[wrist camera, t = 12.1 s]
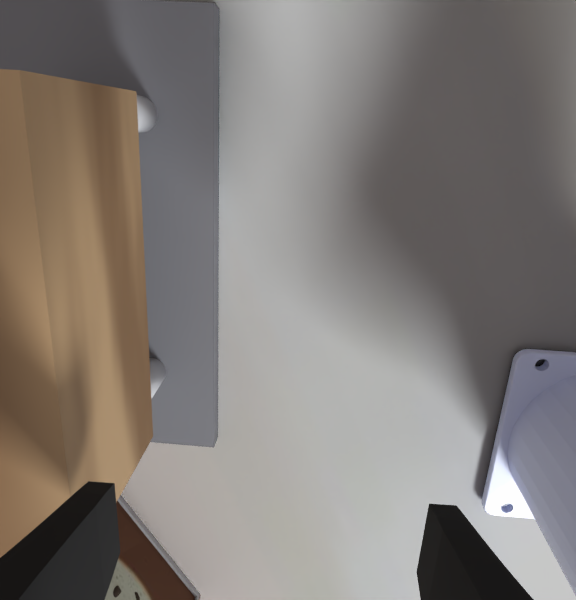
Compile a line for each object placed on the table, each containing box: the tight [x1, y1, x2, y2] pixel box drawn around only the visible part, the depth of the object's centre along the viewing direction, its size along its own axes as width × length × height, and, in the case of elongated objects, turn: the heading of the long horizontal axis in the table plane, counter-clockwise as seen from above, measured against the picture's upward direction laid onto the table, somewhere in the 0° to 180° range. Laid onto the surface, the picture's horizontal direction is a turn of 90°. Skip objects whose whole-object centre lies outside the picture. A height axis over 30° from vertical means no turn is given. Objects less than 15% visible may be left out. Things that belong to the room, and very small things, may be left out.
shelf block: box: [0, 69, 153, 558], centre depth 14 cm, size 4×12×6 cm, turn 177°
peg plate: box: [0, 0, 219, 447], centre depth 18 cm, size 8×17×3 cm, turn 177°
